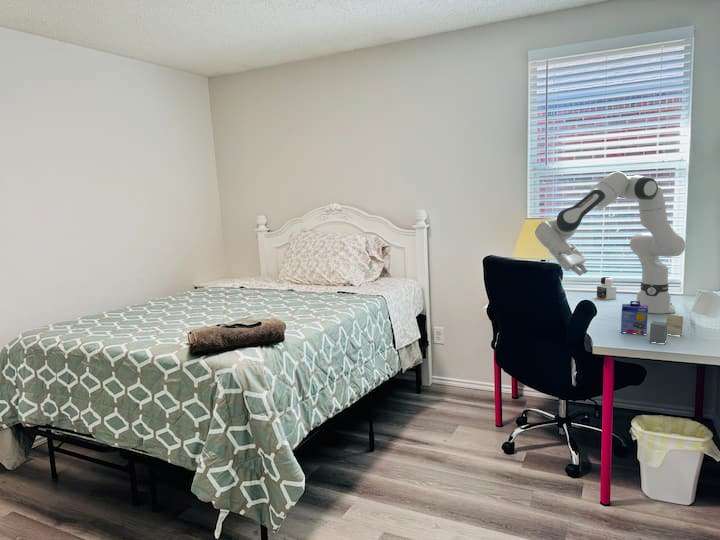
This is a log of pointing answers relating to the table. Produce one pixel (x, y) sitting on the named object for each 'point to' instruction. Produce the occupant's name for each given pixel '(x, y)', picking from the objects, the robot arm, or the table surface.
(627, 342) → the table surface
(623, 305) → the ink cartridge box
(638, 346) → the table surface
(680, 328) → the birch block
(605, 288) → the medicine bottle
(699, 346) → the table surface
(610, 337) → the table surface
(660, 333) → the slate block
